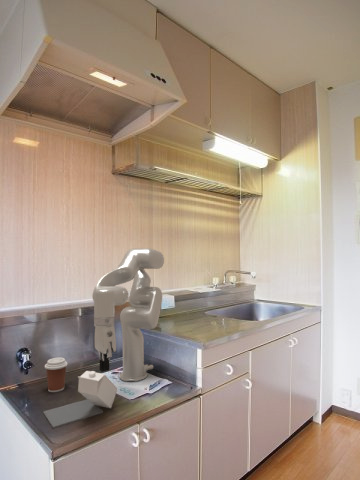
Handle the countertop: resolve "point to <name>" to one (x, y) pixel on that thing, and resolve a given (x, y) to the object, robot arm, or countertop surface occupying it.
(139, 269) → the robot arm
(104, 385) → the milk carton
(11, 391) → the countertop surface
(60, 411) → the mat
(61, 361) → the coffee cup
